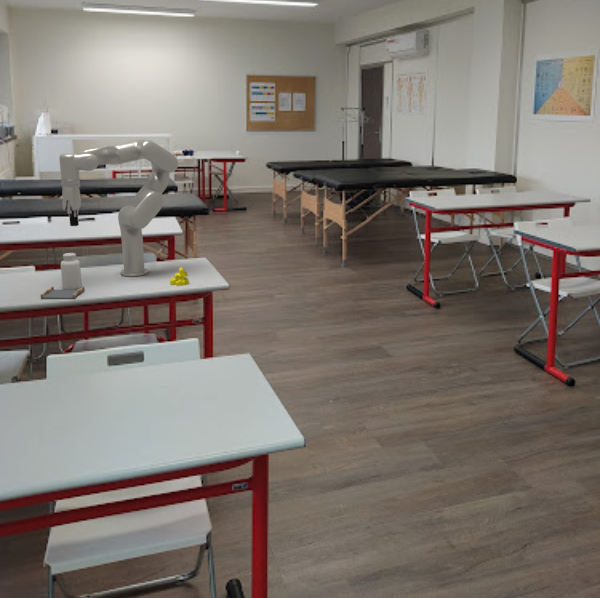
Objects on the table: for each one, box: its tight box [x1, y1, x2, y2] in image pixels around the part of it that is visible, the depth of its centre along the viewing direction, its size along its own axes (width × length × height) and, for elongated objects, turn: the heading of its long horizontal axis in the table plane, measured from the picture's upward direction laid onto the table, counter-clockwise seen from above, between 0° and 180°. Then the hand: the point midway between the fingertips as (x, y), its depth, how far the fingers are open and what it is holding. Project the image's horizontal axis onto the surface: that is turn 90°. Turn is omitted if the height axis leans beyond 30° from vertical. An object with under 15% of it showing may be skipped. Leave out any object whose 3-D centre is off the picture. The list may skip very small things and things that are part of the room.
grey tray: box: [42, 289, 86, 300], centre depth 284 cm, size 12×14×1 cm
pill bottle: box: [60, 252, 83, 290], centre depth 293 cm, size 8×8×15 cm
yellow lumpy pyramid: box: [169, 266, 190, 287], centre depth 300 cm, size 6×8×8 cm
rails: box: [40, 286, 86, 300], centre depth 284 cm, size 12×14×2 cm
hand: (74, 225), depth 297 cm, fingers closed
